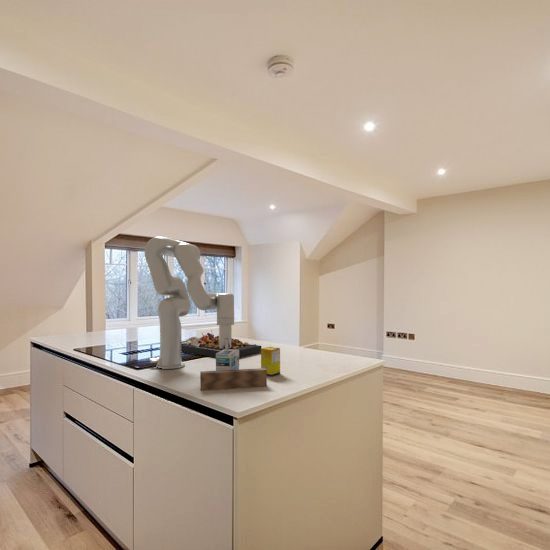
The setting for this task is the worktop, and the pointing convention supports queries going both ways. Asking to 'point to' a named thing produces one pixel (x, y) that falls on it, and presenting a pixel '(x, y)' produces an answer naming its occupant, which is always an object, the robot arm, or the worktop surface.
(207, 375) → the walnut board
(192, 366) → the worktop surface
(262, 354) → the supplement box
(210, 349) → the food platter
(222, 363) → the light bulb box
